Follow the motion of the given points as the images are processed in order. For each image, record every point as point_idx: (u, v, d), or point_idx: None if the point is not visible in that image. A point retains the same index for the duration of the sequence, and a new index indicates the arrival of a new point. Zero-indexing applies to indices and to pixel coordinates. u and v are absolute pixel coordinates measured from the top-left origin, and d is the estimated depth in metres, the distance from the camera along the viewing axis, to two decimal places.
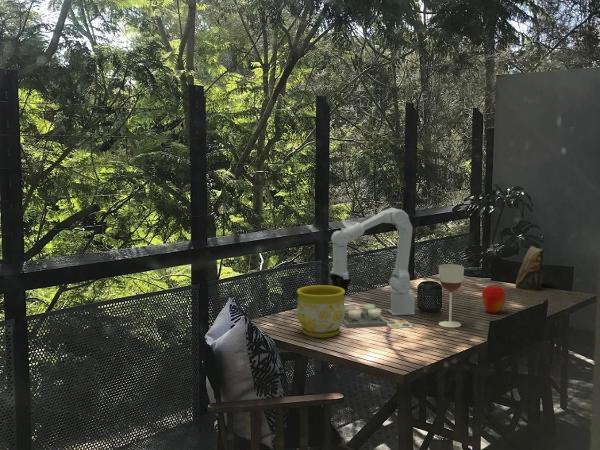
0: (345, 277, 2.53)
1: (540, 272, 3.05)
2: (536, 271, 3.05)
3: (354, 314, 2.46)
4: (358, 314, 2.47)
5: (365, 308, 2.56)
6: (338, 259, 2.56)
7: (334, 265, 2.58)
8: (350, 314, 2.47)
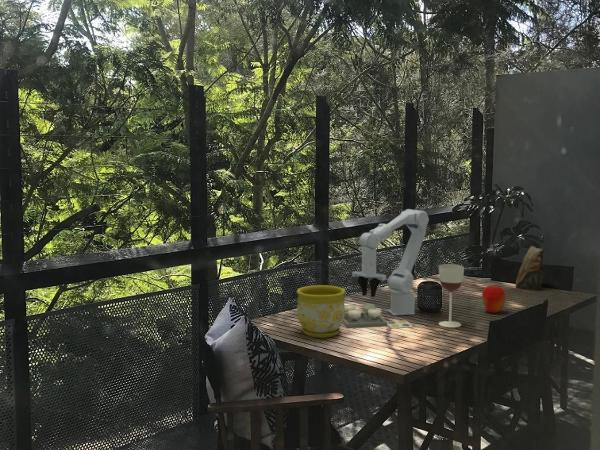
0: (384, 278, 2.52)
1: (540, 272, 3.05)
2: (536, 271, 3.05)
3: (354, 314, 2.46)
4: (358, 314, 2.47)
5: (365, 308, 2.56)
6: (370, 261, 2.53)
7: (367, 268, 2.53)
8: (350, 314, 2.47)
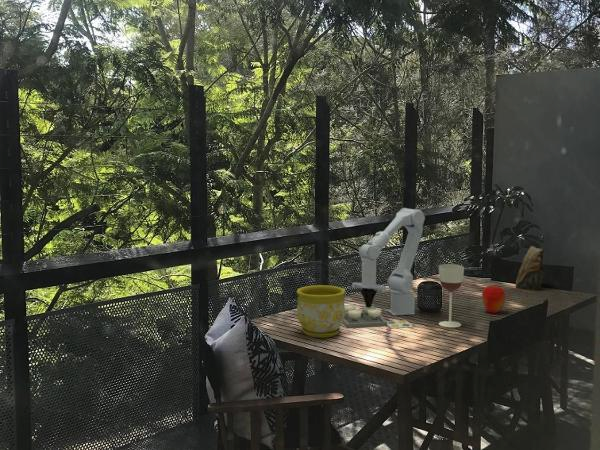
0: (384, 290, 2.53)
1: (540, 272, 3.05)
2: (536, 271, 3.05)
3: (354, 314, 2.46)
4: (358, 314, 2.47)
5: (365, 310, 2.56)
6: (370, 273, 2.54)
7: (367, 279, 2.54)
8: (350, 314, 2.47)
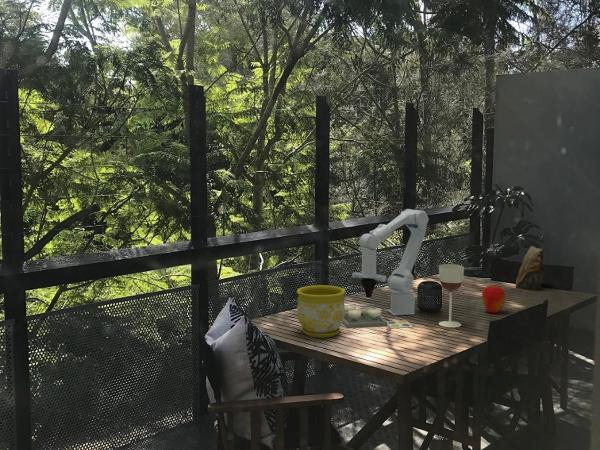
0: (384, 279, 2.52)
1: (540, 272, 3.05)
2: (536, 271, 3.05)
3: (354, 314, 2.46)
4: (358, 314, 2.47)
5: (365, 311, 2.56)
6: (370, 262, 2.53)
7: (367, 269, 2.54)
8: (350, 314, 2.47)
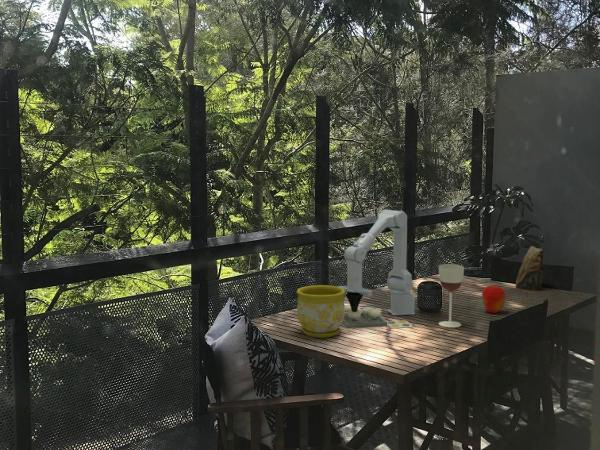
0: (370, 294, 2.43)
1: (540, 272, 3.05)
2: (536, 271, 3.05)
3: (354, 314, 2.46)
4: (358, 314, 2.47)
5: (365, 311, 2.56)
6: (357, 276, 2.44)
7: (353, 283, 2.45)
8: (350, 314, 2.47)
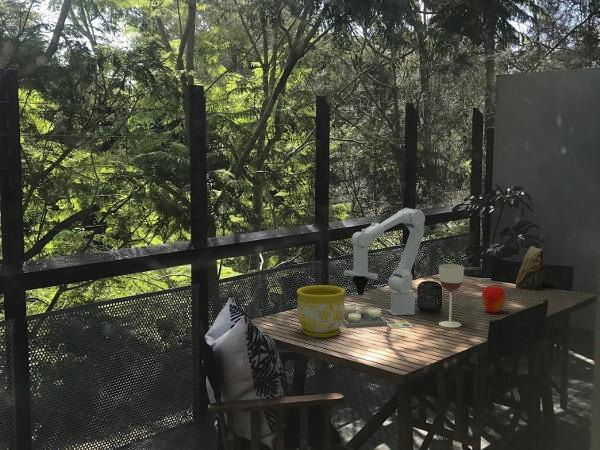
0: (376, 277, 2.54)
1: (540, 272, 3.05)
2: (536, 271, 3.05)
3: (354, 318, 2.47)
4: (358, 318, 2.47)
5: (365, 311, 2.56)
6: (360, 260, 2.54)
7: (359, 267, 2.55)
8: (350, 318, 2.47)
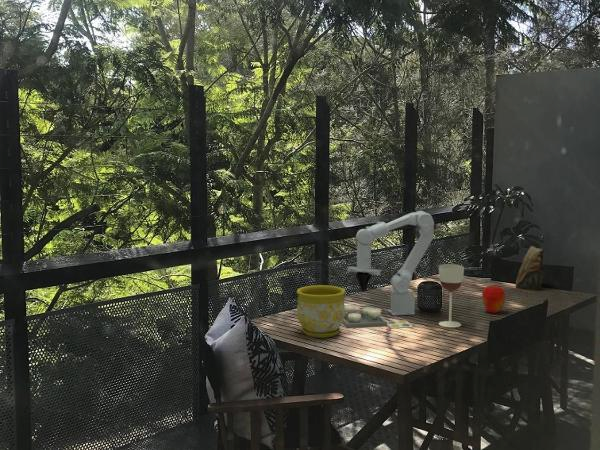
0: (378, 273, 2.60)
1: (540, 272, 3.05)
2: (536, 271, 3.05)
3: (354, 318, 2.47)
4: (358, 318, 2.47)
5: (365, 311, 2.56)
6: (361, 257, 2.61)
7: (362, 263, 2.61)
8: (350, 318, 2.47)
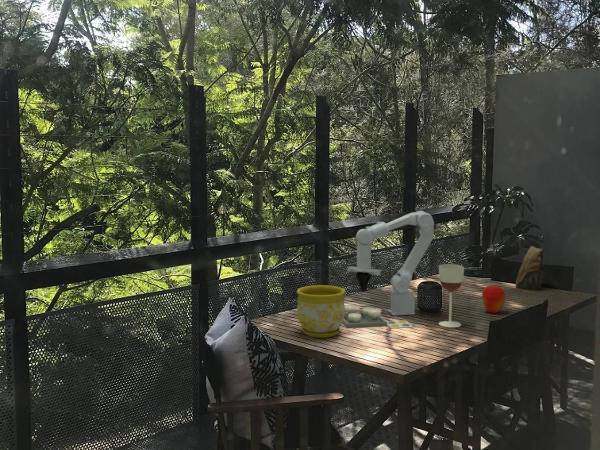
0: (378, 273, 2.60)
1: (540, 272, 3.05)
2: (536, 271, 3.05)
3: (354, 318, 2.47)
4: (358, 318, 2.47)
5: (365, 311, 2.56)
6: (361, 257, 2.61)
7: (362, 263, 2.61)
8: (350, 318, 2.47)
